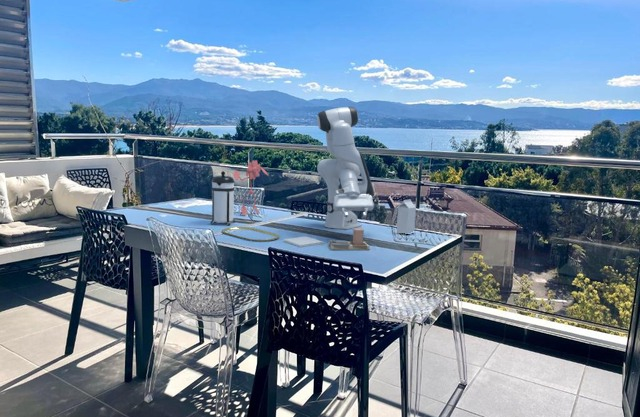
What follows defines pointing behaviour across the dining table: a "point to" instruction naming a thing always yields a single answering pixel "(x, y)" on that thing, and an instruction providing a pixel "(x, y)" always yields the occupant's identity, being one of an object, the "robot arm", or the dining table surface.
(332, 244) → the birch puzzle board
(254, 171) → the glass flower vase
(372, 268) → the dining table surface
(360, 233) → the terracotta peg block
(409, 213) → the milk carton
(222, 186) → the coffee press
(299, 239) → the off-white ceramic tile
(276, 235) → the serving platter
